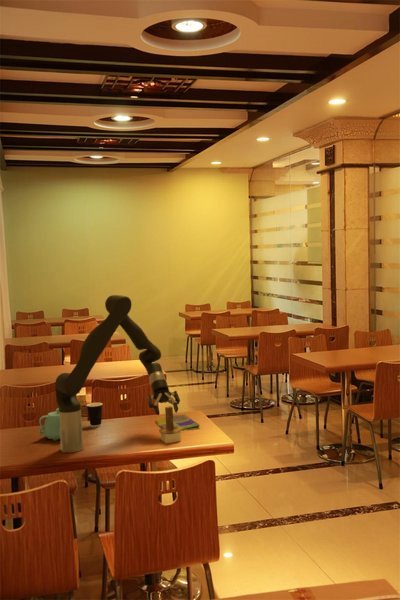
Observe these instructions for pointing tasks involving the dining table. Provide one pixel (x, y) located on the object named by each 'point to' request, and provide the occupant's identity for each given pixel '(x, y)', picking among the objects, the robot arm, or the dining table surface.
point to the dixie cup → (95, 414)
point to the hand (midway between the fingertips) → (167, 412)
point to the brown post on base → (169, 423)
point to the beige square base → (171, 437)
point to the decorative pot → (51, 425)
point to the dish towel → (179, 422)
